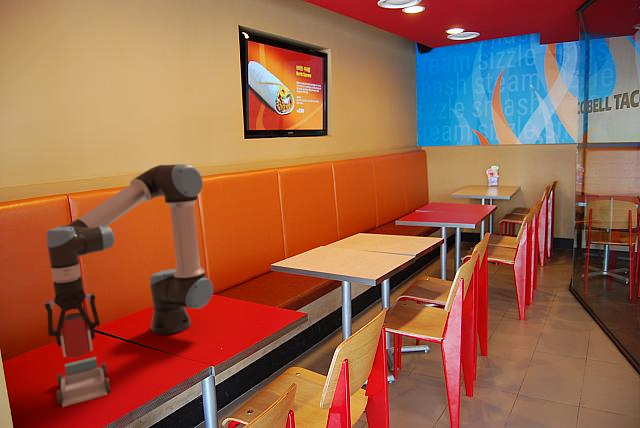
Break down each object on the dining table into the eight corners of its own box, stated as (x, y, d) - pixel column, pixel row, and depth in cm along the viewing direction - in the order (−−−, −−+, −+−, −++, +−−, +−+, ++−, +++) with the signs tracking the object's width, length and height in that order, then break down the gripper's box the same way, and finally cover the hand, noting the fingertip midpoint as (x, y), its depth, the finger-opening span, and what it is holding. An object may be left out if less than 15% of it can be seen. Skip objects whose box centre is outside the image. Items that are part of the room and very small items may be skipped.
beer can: (71, 350, 154) (66, 313, 152) (93, 348, 154) (88, 311, 152) (62, 359, 147) (56, 321, 145) (85, 357, 148) (79, 319, 146)
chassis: (58, 383, 157) (56, 366, 156) (106, 371, 164) (104, 354, 163) (58, 408, 142) (55, 389, 141) (110, 393, 149) (108, 375, 148)
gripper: (28, 288, 140) (41, 365, 143) (103, 275, 148) (113, 348, 152) (30, 282, 146) (42, 355, 150) (102, 270, 155) (111, 340, 159)
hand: (78, 351), depth 151 cm, fingers closed on beer can, 7 cm apart
